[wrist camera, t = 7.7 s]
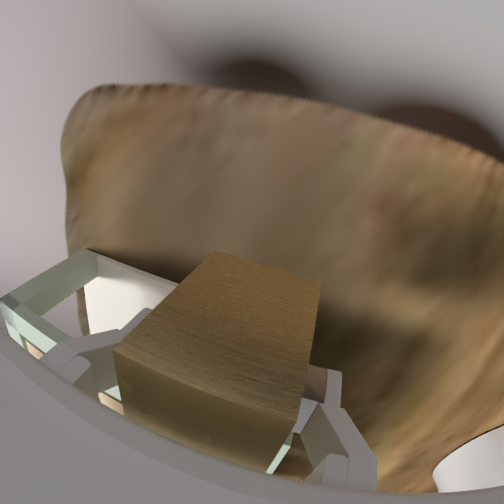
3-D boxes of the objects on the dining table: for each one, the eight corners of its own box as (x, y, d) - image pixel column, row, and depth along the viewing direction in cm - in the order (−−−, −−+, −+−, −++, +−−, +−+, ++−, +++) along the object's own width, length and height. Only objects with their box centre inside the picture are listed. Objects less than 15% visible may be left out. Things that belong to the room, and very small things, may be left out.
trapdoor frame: (313, 326, 21) (290, 446, 12) (256, 455, 30) (230, 527, 20) (85, 248, 25) (-2, 299, 15) (105, 391, 33) (61, 443, 24)
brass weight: (321, 281, 10) (296, 420, 5) (285, 378, 12) (248, 496, 7) (214, 250, 11) (112, 349, 6) (200, 349, 13) (133, 451, 8)
